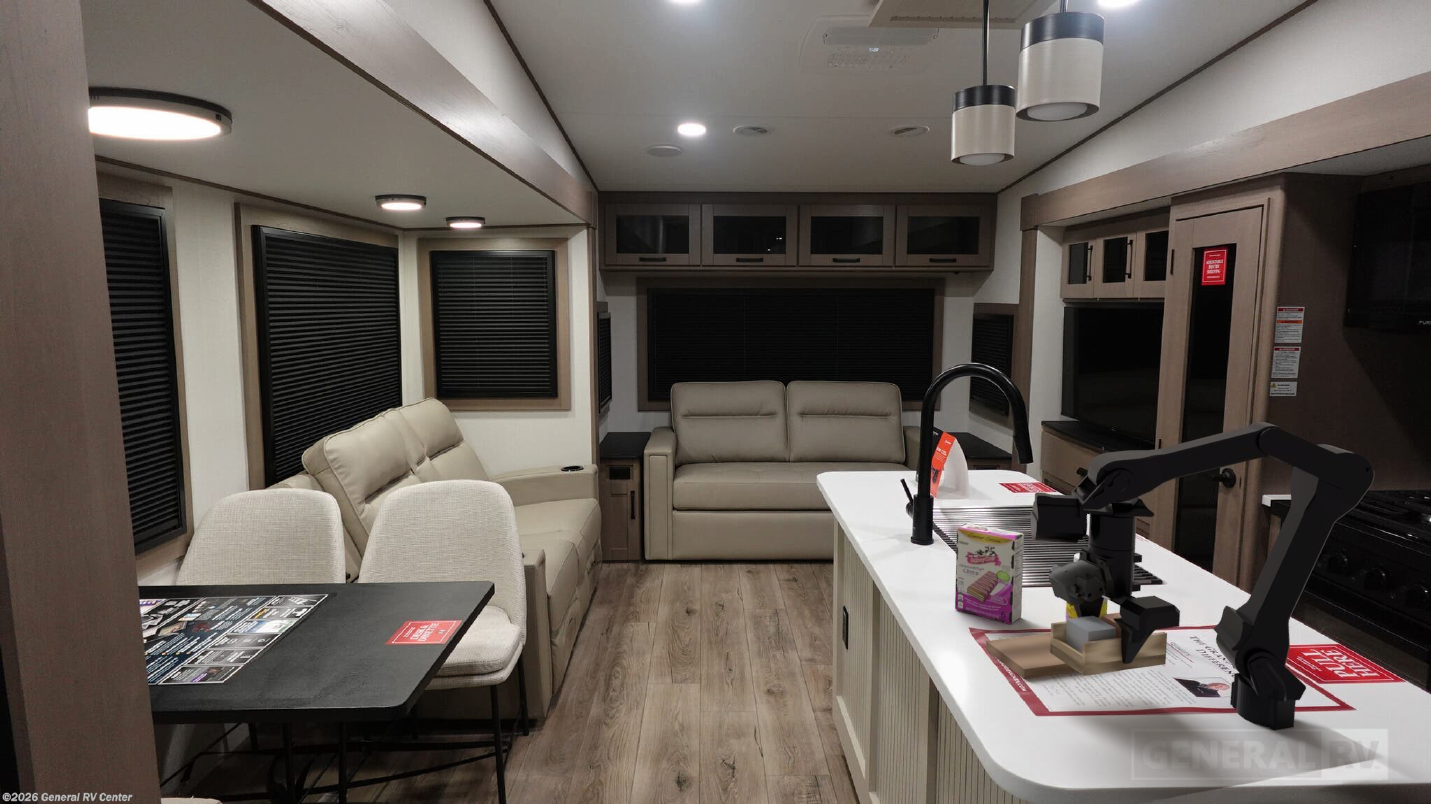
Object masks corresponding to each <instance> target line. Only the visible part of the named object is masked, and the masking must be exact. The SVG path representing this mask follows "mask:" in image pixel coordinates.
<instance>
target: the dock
mask: <svg viewBox="0 0 1431 804" xmlns="http://www.w3.org/2000/svg"><path fill="white" fill-rule="evenodd" d="M1050 644H1051V632H1047V633H1040V634H1032V635H1025V636H1024V635H1023V636H1016V637H1009V638H1001V639H992V640H986V648H985V651H986V652H988V653H989V654H991V655H992V656H993V657H995V659H997V660H999V661H1000V662H1001V663H1003V664H1004V665H1005V666H1007V667H1008V668H1009V669H1010V670H1012V671H1013V672H1014V673H1015V674H1017V675H1018V676H1019V677H1021V678H1022V679H1024V680H1027V679H1028V680H1029V679H1034V678H1041V677H1048V676H1057V675H1063V674H1069V673H1077V672H1078V671H1076V670H1075V669H1073V668H1072V667H1070V666H1069V665H1067V664H1066V663H1064V662H1063V661H1061V660H1060V659H1058V658H1057V657H1055V656H1054V655H1053V654H1051V653H1050ZM1078 673H1079V672H1078Z"/></svg>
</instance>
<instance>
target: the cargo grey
mask: <svg viewBox="0 0 1431 804" xmlns="http://www.w3.org/2000/svg"><path fill="white" fill-rule="evenodd" d="M1113 638H1116V628H1115V627H1113V626H1111V625H1109V624H1108V623H1106V622H1104V621H1102V620H1100V619H1099V618H1097V617H1095V616H1087V617H1079V618H1071V619H1067V623H1066V644H1067V645H1069V646H1070V647H1072V648H1073V649H1075V650H1077V651H1078V652H1080V653H1081V654H1082V649H1083V642H1090V641H1098V640H1106V639H1113Z"/></svg>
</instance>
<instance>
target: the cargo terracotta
mask: <svg viewBox="0 0 1431 804" xmlns="http://www.w3.org/2000/svg"><path fill="white" fill-rule="evenodd" d="M1114 618H1122V617H1121V616H1120V612H1113V613H1107V614H1103V615H1101V620H1102V621H1104V622H1106V623H1108V624H1109V625H1111V626H1113V627H1115V628H1116V638H1121V628H1120V627H1119V626H1118V625H1117V623H1116V622H1115V621H1114V620H1113V619H1114Z"/></svg>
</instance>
